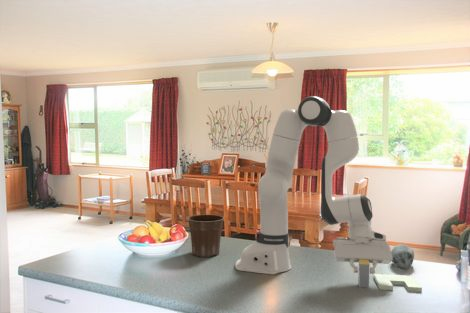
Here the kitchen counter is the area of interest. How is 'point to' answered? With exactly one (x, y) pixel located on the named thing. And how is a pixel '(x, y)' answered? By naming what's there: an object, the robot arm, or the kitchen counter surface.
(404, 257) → the grey oval lump
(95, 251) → the kitchen counter surface
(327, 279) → the kitchen counter surface
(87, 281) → the kitchen counter surface
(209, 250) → the plant pot
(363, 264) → the grey and yellow block
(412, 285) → the notched board
